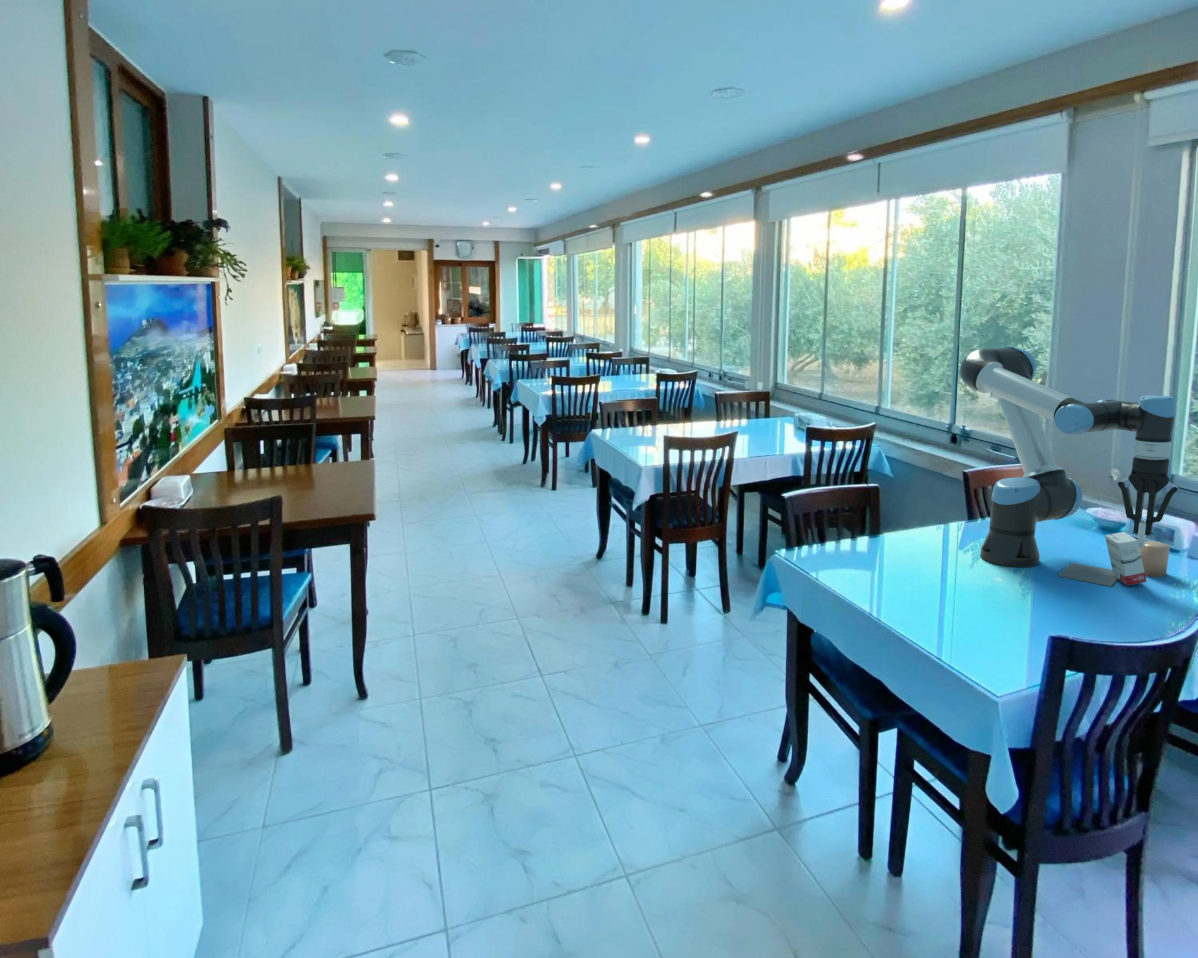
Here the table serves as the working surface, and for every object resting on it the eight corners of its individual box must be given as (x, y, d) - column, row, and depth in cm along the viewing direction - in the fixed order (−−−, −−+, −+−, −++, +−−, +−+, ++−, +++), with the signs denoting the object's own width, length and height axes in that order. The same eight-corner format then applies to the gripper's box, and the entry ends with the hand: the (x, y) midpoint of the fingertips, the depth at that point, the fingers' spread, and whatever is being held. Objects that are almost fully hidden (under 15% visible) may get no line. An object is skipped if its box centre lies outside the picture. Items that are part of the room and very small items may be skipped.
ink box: (1148, 582, 198) (1139, 539, 196) (1127, 586, 199) (1118, 544, 197) (1132, 571, 206) (1124, 530, 204) (1112, 575, 207) (1103, 534, 205)
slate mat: (1057, 576, 208) (1057, 575, 208) (1071, 563, 218) (1071, 562, 218) (1111, 586, 200) (1111, 585, 200) (1123, 573, 210) (1123, 571, 209)
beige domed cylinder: (1132, 573, 209) (1135, 545, 208) (1137, 566, 214) (1141, 539, 212) (1163, 578, 205) (1167, 550, 203) (1168, 572, 209) (1172, 544, 208)
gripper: (1117, 456, 196) (1108, 545, 201) (1180, 461, 188) (1168, 554, 192) (1124, 452, 202) (1114, 538, 206) (1185, 457, 193) (1173, 547, 198)
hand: (1140, 546), depth 199 cm, fingers closed
